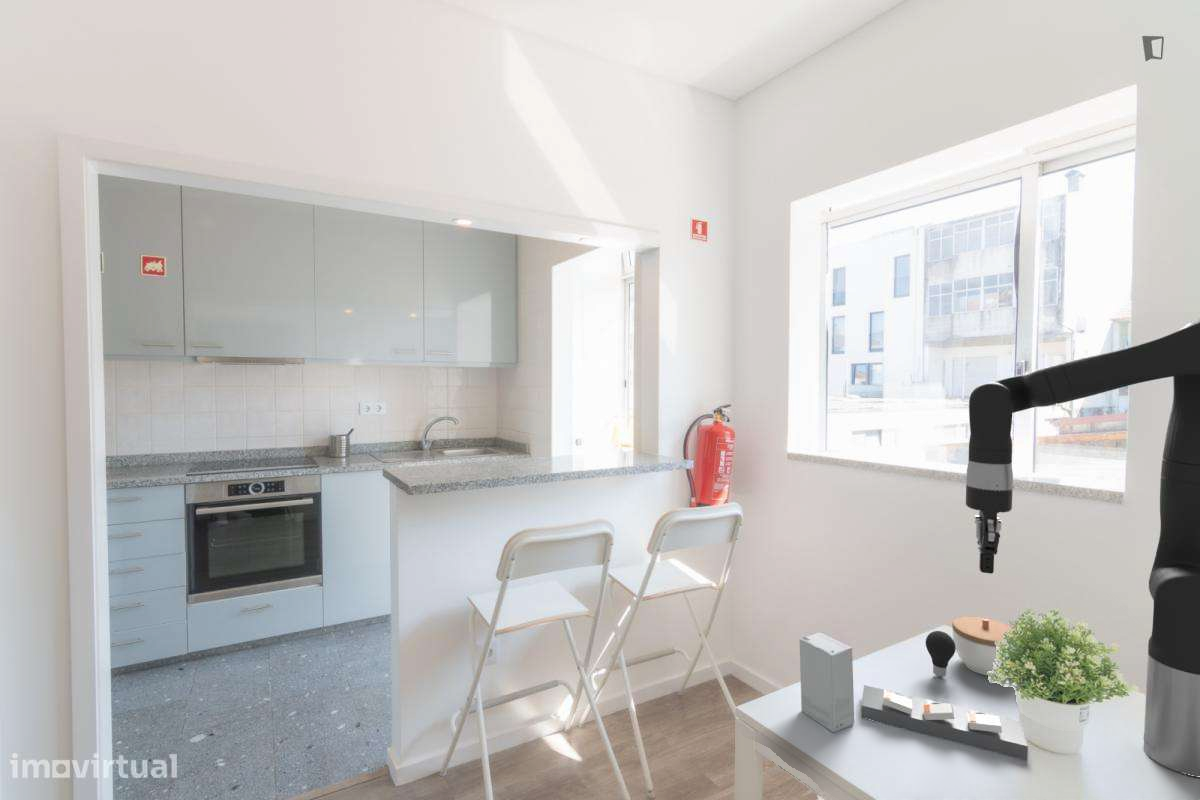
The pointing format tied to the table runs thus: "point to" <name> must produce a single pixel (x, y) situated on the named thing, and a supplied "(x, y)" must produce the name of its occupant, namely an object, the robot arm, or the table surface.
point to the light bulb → (940, 651)
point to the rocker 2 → (984, 722)
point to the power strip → (946, 724)
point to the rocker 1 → (897, 702)
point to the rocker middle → (938, 711)
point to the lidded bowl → (977, 641)
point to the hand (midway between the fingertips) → (986, 571)
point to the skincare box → (827, 681)
